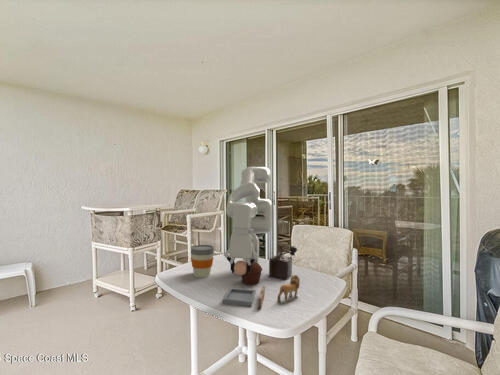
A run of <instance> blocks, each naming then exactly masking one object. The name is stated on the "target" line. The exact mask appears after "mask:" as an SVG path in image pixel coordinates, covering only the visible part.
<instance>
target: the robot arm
mask: <svg viewBox="0 0 500 375" xmlns="http://www.w3.org/2000/svg"><path fill="white" fill-rule="evenodd" d="M271 173H272V172H271V169H270V168H269V167H266V166H247V167H245V168H244V169H243V170H242V171H241V181H240V185H238V186H237V187H236V188H234V190H233V191H232V192H231V193H230V194H229V196H228V199H227V204H226V215H227V216H228V217H229V218H232V219H233V221H232V233H231V235H230V241H229V248H228V249H227V251H225V252H224V253H223V256H224V257H225V259H226V260H227V261H228V262H229V264H230V271H231V274H234V273H235V271H234V265H235V263H236V261H235V260H236V259H242V261H244V262H247V263H248V264H247V275H248V274H249V272H251V264H252V263H253V262H256V263H258V264H259V265H260V262H259V261H260V260H259V259H260V239H259V237H258V236H257V234H270V233H271V232H272V230H273V229H272V228H273V203H272V201H271V199H269V198H261V189H260V188H259V187H258V184H264V183H265V184H268V183H270V181H271V178H272V174H271ZM244 198H245V201H239V200H241V199H244ZM256 215H263V216H256Z"/></svg>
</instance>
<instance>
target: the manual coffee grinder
mask: <svg viewBox="0 0 500 375" xmlns="http://www.w3.org/2000/svg"><path fill="white" fill-rule="evenodd" d="M279 247H280V248H279V250H280V254H278V255H277V254H276V255H274V256H272V257H271V258H269V259H268V260H269V261H268V262H269V264H268V277H270V278H276V279H282V280H288V279H289V278H291V276H292V275H291V274H293V257H294V256H296V252H297V251H298V248H297V247H296V246H294V245H292V246H290V247H289V250H290V251H289V250H286V249H284V248H283V245H280V246H279ZM283 252H285V253H288V254H289V255H291V256H293V257H289V256H286V255H283ZM288 277H289V278H288ZM287 278H288V279H287Z"/></svg>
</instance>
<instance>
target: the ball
mask: <svg viewBox="0 0 500 375" xmlns="http://www.w3.org/2000/svg"><path fill="white" fill-rule="evenodd" d="M234 271H235V272H234V273H235V274H236V275H238V276H242V275H243V274H245V273H246V272H247V264H246V263H245V262H244V261H243V260H237V261H235V265H234Z"/></svg>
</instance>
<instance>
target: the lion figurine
mask: <svg viewBox="0 0 500 375" xmlns="http://www.w3.org/2000/svg"><path fill="white" fill-rule="evenodd" d="M299 287H300V277H299V276H298V275H297V274H293V275H291V276H290V282H289V283H288V284H282V285H281V286H280V289H279V293H278V294H277V299H276V300H277V302H278V304H280V303H281V295H283V294H284V300H285V301H286V302H287V303H290V300H289V299H288V296H290V297H292V296H293V292H294V298H295V297H297V298H298V289H300V288H299Z"/></svg>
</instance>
